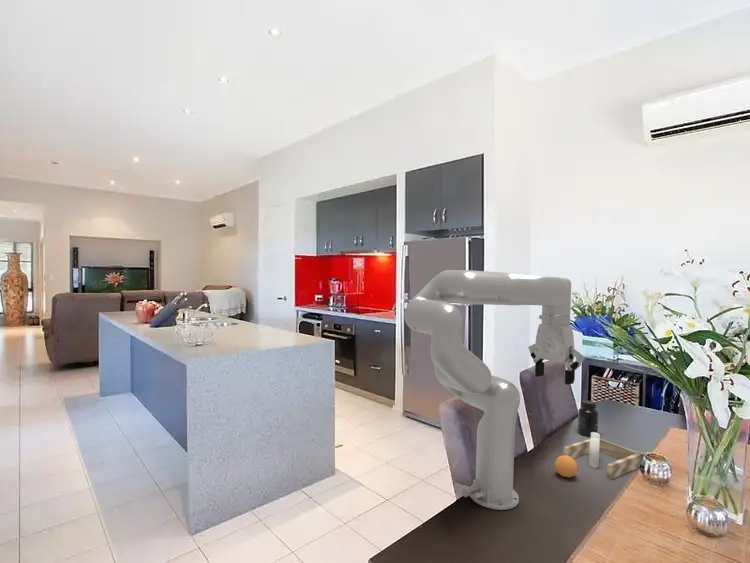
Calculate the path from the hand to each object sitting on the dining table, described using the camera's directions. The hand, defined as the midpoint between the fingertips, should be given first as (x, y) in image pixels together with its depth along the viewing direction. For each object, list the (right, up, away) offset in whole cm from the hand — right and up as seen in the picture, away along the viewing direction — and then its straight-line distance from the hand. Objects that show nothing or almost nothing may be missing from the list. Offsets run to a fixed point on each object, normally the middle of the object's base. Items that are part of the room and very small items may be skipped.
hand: (553, 379), depth 122 cm
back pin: (+19, -29, +14) cm, 38 cm away
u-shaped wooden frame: (+21, -29, +12) cm, 38 cm away
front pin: (+17, -29, +10) cm, 35 cm away
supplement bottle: (+28, -29, +37) cm, 55 cm away
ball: (+5, -26, +3) cm, 27 cm away
